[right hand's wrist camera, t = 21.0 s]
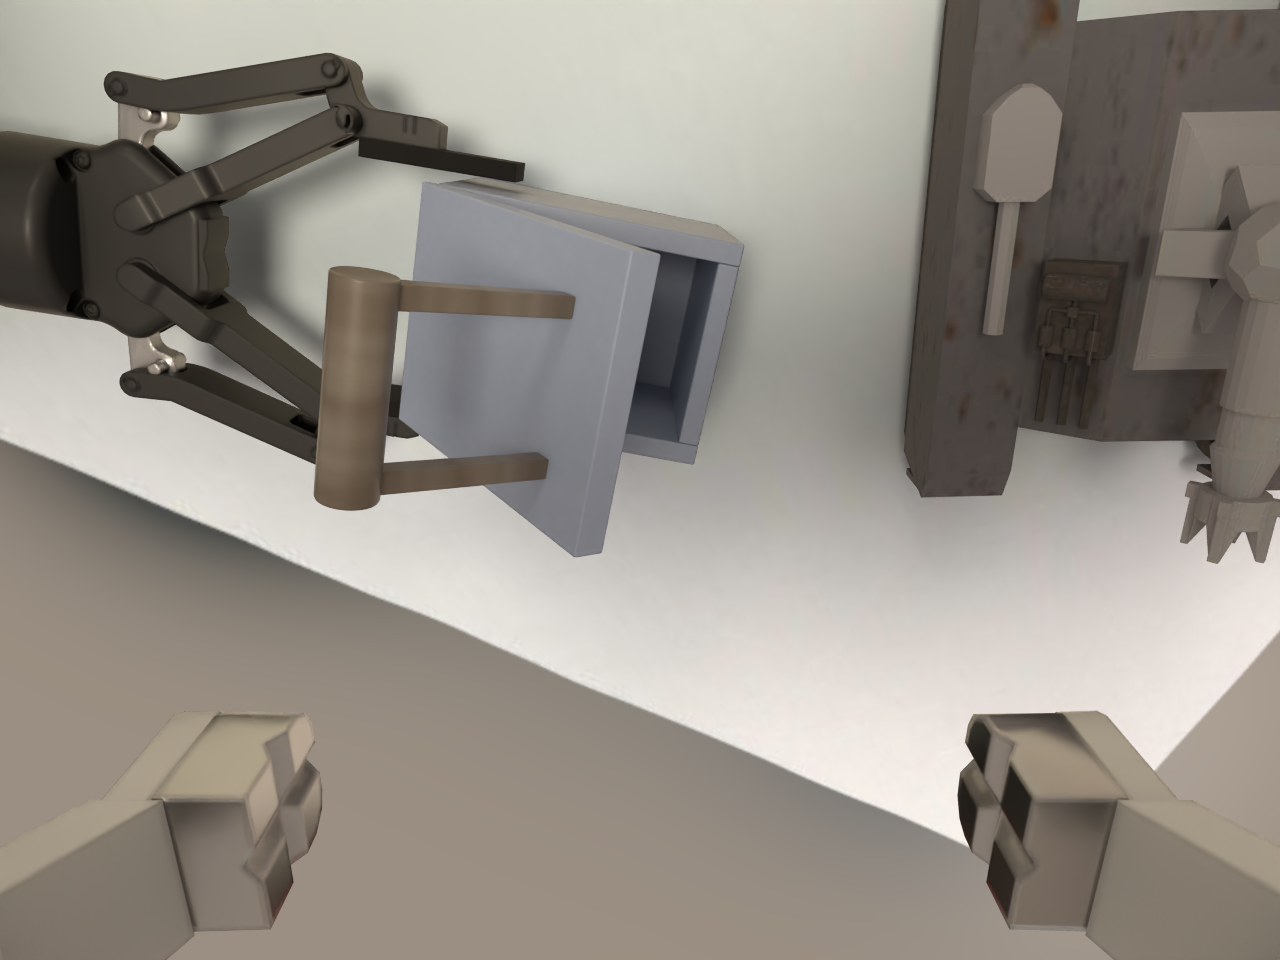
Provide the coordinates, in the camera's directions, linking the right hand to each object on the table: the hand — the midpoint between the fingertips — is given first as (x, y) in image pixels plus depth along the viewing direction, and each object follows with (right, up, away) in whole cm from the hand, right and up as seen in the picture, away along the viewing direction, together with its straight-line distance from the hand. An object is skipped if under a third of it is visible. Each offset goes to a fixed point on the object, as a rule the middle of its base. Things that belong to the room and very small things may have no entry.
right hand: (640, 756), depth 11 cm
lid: (-4, +8, +19) cm, 21 cm away
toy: (+24, +16, +33) cm, 44 cm away
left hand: (-6, +12, +28) cm, 31 cm away
